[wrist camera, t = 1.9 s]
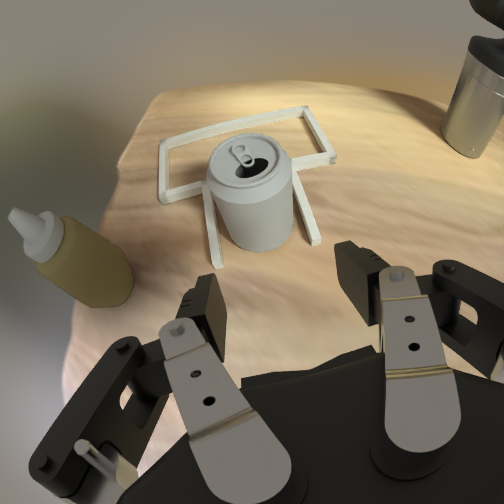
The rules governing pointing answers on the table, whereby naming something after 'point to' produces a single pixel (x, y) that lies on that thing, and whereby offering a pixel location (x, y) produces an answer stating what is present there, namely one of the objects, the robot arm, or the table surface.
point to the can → (253, 190)
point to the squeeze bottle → (75, 258)
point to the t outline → (202, 186)
